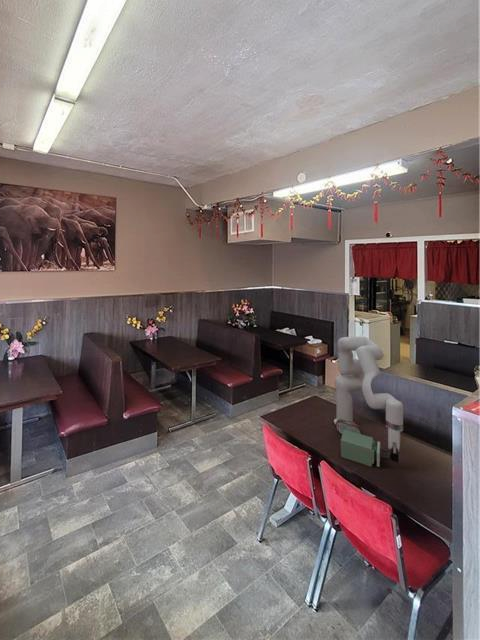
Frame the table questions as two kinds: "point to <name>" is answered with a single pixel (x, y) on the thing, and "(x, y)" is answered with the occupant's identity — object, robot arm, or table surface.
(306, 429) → the table surface
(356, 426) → the tin
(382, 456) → the drawer
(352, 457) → the cabinet
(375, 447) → the cube
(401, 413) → the robot arm
